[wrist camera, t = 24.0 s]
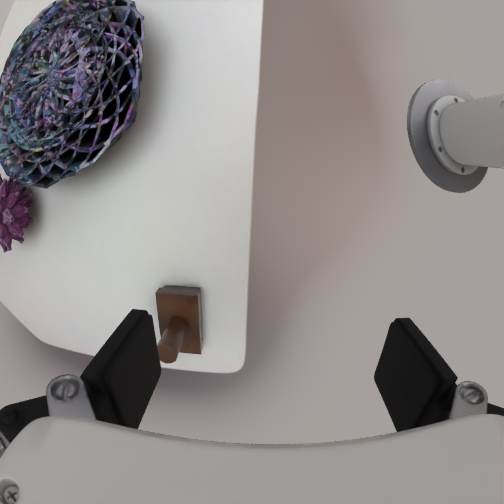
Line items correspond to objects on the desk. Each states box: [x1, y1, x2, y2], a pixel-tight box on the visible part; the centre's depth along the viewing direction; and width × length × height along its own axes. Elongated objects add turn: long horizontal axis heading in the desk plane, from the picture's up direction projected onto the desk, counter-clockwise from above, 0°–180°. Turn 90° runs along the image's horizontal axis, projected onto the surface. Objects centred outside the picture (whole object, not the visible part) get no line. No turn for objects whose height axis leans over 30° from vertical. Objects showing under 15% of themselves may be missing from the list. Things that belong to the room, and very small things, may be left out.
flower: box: [0, 175, 34, 253], centre depth 28 cm, size 12×12×12 cm
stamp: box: [156, 286, 203, 363], centre depth 33 cm, size 9×6×10 cm, turn 178°
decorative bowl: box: [0, 0, 145, 188], centre depth 25 cm, size 26×28×10 cm
